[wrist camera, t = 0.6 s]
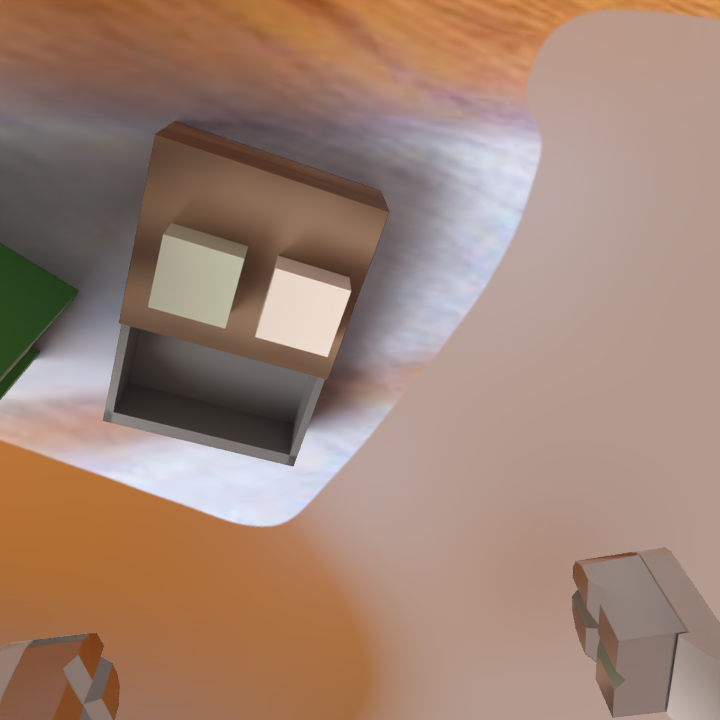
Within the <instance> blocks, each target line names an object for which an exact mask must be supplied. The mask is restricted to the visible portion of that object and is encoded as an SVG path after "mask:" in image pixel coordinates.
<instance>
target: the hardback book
mask: <svg viewBox="0 0 720 720" xmlns="http://www.w3.org/2000/svg"><path fill="white" fill-rule="evenodd" d="M77 293H78V290H76V289H74V288H73V287H71V286H70V285H68V284H66V283H65V282H63V281H61V280H60V279H58V278H56V277H55V276H53V275H52V274H50V273H48V272H47V271H45V270H43V269H42V268H40V267H39V266H37V265H35V264H34V263H32V262H30V261H29V260H27V259H25V258H24V257H22V256H21V255H19V254H17V253H16V252H14V251H12V250H11V249H9V248H8V247H6V246H4V245H3V244H1V243H0V400H1V398H2V397H3V396H4V395H5V394H6V393H7V391H8V390H9V389H10V388H11V387H12V386H13V384H14V383H15V382H16V381H17V380H18V379H19V377H20V376H21V375H22V374H23V373H24V372H25V370H26V369H27V368H28V367H29V366H30V365H31V363H32V362H33V361H34V360H35V358H36V357H37V355H38V354H39V352H40V351H38V350H37V349H35V348H33V347H31V346H32V345H33V344H34V342H35V341H36V340H37V339H38V338H39V337H40V336H41V335H42V334H43V333H44V331H45V330H46V329H47V328H48V327H49V326H50V325H51V324H52V323H53V321H54V320H55V319H56V318H57V317H58V316H59V315H60V314H61V313H62V311H63V310H64V309H65V308H66V307H67V306H68V305H69V304H70V303H71V301H72V300H73V299H74V297H75V296H76V294H77Z"/></svg>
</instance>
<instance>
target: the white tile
mask: <svg viewBox="0 0 720 720" xmlns="http://www.w3.org/2000/svg"><path fill="white" fill-rule="evenodd" d="M350 293H351V285H350V277H346V276H343V275H340V274H337V273H333V272H330V271H327V270H324V269H320V268H317V267H314V266H311V265H307V264H304V263H301V262H298V261H294V260H291V259H288V258H284V257H281V256H278V257H277V260H276V264H275V267H274V271H273V274H272V277H271V281H270V284H269V287H268V291H267V294H266V297H265V301H264V304H263V307H262V311H261V314H260V318H259V321H258V326H257V330H256V335H255V337H257V338H261V339H264V340H268V341H271V342H275V343H279V344H282V345H286V346H289V347H293V348H297V349H300V350H304V351H307V352H311V353H314V354H318V355H322V356H325V357H328V354H329V352H330V349H331V346H332V343H333V340H334V338H335V335H336V332H337V329H338V327H339V324H340V321H341V318H342V316H343V313H344V310H345V307H346V304H347V302H348V299H349V296H350Z"/></svg>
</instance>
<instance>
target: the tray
mask: <svg viewBox="0 0 720 720" xmlns="http://www.w3.org/2000/svg"><path fill="white" fill-rule="evenodd" d="M324 381H325V379H323V378H319V377H316V376H312V375H308V374H305V373H301V372H297V371H293V370H290V369H286V368H282V367H279V366H275V365H271V364H268V363H264V362H260V361H257V360H253V359H249V358H246V357H242V356H238V355H234V354H231V353H227V352H223V351H220V350H216V349H212V348H209V347H205V346H201V345H198V344H194V343H190V342H187V341H183V340H179V339H175V338H172V337H168V336H164V335H161V334H157V333H153V332H150V331H146V330H142V329H139V328H135V327H131V326H128V325H124V324H122V325H121V330H120V335H119V340H118V345H117V351H116V356H115V361H114V366H113V371H112V376H111V382H110V387H109V392H108V397H107V402H106V407H105V413H104V418H103V421H106V422H110V423H114V424H118V425H122V426H126V427H131V428H135V429H139V430H143V431H147V432H152V433H156V434H160V435H164V436H168V437H172V438H177V439H181V440H185V441H189V442H193V443H197V444H202V445H206V446H210V447H214V448H218V449H222V450H227V451H231V452H235V453H239V454H243V455H247V456H252V457H256V458H260V459H264V460H268V461H273V462H277V463H281V464H285V465H289V466H294V463H295V461H296V458H297V455H298V452H299V450H300V447H301V444H302V441H303V439H304V436H305V433H306V431H307V428H308V425H309V422H310V420H311V417H312V414H313V411H314V409H315V406H316V403H317V400H318V398H319V395H320V392H321V389H322V387H323V384H324Z"/></svg>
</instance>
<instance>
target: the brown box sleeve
mask: <svg viewBox="0 0 720 720" xmlns="http://www.w3.org/2000/svg"><path fill="white" fill-rule="evenodd" d="M388 214H389V211H388V208H387V206H386V203H385V200H384V198H383V195H382V193H381V191H379V190H376V189H373V188H370V187H367V186H364V185H361V184H358V183H356V182H353V181H350V180H347V179H344V178H341V177H338V176H335V175H332V174H329V173H326V172H323V171H320V170H317V169H314V168H311V167H308V166H305V165H303V164H300V163H297V162H294V161H291V160H288V159H285V158H282V157H279V156H276V155H273V154H270V153H267V152H264V151H261V150H258V149H255V148H252V147H250V146H247V145H244V144H241V143H238V142H235V141H232V140H229V139H226V138H223V137H220V136H217V135H214V134H211V133H208V132H205V131H202V130H199V129H197V128H194V127H191V126H188V125H185V124H182V123H179V122H176V121H175V122H173V123H172V124H170V125H169V126H167V127H166V128H164V129H163V130H161V131H159V132H158V133H156V134H155V137H154V143H153V148H152V153H151V158H150V164H149V169H148V174H147V179H146V184H145V190H144V195H143V200H142V205H141V211H140V216H139V221H138V226H137V231H136V237H135V242H134V247H133V252H132V258H131V263H130V268H129V273H128V279H127V284H126V289H125V294H124V299H123V305H122V310H121V315H120V320H119V323H120V324H124V325H128V326H131V327H135V328H139V329H142V330H146V331H150V332H153V333H157V334H161V335H164V336H168V337H172V338H175V339H179V340H183V341H187V342H190V343H194V344H198V345H201V346H205V347H209V348H212V349H216V350H220V351H223V352H227V353H231V354H234V355H238V356H242V357H246V358H249V359H253V360H257V361H260V362H264V363H268V364H271V365H275V366H279V367H282V368H286V369H290V370H293V371H297V372H301V373H305V374H308V375H312V376H316V377H319V378H323V379H327V380H328V377H329V375H330V372H331V369H332V366H333V364H334V361H335V358H336V355H337V353H338V350H339V347H340V345H341V342H342V339H343V336H344V334H345V331H346V328H347V326H348V323H349V320H350V317H351V315H352V312H353V309H354V306H355V304H356V301H357V298H358V296H359V293H360V290H361V287H362V285H363V282H364V279H365V276H366V274H367V271H368V268H369V266H370V263H371V260H372V257H373V255H374V252H375V249H376V246H377V244H378V241H379V238H380V236H381V233H382V230H383V227H384V225H385V222H386V219H387V217H388ZM171 223H174V224H177V225H180V226H184V227H187V228H190V229H193V230H197V231H200V232H203V233H206V234H210V235H213V236H216V237H219V238H223V239H226V240H229V241H232V242H236V243H239V244H242V245H245V246H248V250H247V253H246V257H245V260H244V264H243V268H242V271H241V275H240V279H239V282H238V286H237V290H236V293H235V297H234V301H233V304H232V308H231V311H230V315H229V318H228V321H227V325H226V328H221V327H218V326H214V325H210V324H207V323H203V322H200V321H196V320H192V319H189V318H185V317H182V316H178V315H174V314H171V313H167V312H164V311H160V310H157V309H153V308H149V307H148V304H149V299H150V295H151V290H152V285H153V280H154V276H155V271H156V266H157V261H158V257H159V252H160V247H161V242H162V238H163V234H164V232H165V231H166V230H167V228H168V227H169V226H170V224H171ZM278 256H281V257H284V258H288V259H291V260H294V261H298V262H301V263H304V264H307V265H311V266H314V267H317V268H320V269H324V270H327V271H330V272H333V273H337V274H340V275H343V276H346V277H350V285H351V293H350V296H349V299H348V302H347V304H346V307H345V310H344V313H343V316H342V318H341V321H340V324H339V327H338V329H337V332H336V335H335V338H334V340H333V343H332V346H331V349H330V352H329V354H328V357H325V356H322V355H318V354H314V353H311V352H307V351H304V350H300V349H297V348H293V347H289V346H286V345H282V344H279V343H275V342H271V341H268V340H264V339H261V338H257V337H255V335H256V330H257V326H258V321H259V318H260V314H261V311H262V307H263V304H264V301H265V297H266V294H267V291H268V287H269V284H270V281H271V277H272V274H273V271H274V267H275V264H276V260H277V257H278Z"/></svg>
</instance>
